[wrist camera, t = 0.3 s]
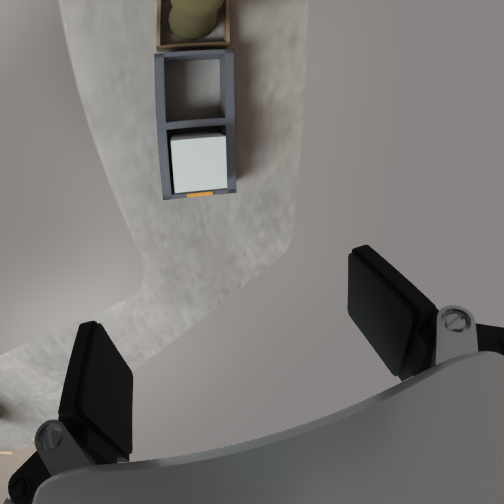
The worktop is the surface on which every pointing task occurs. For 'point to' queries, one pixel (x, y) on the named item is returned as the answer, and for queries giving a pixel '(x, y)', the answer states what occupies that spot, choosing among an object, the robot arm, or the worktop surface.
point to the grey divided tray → (225, 120)
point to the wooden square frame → (195, 45)
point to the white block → (199, 161)
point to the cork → (193, 18)
